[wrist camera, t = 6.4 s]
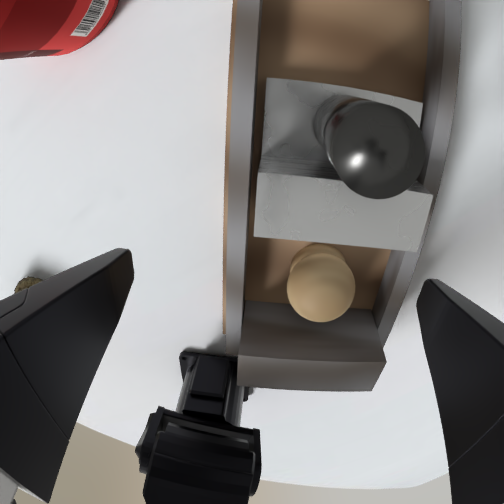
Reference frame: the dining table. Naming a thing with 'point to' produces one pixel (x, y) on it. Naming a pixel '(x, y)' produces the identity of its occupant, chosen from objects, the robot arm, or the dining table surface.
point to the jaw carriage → (341, 167)
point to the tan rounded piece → (320, 283)
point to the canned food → (50, 25)
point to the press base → (282, 250)
